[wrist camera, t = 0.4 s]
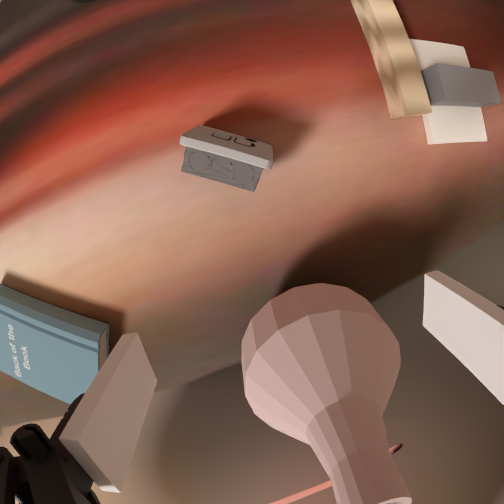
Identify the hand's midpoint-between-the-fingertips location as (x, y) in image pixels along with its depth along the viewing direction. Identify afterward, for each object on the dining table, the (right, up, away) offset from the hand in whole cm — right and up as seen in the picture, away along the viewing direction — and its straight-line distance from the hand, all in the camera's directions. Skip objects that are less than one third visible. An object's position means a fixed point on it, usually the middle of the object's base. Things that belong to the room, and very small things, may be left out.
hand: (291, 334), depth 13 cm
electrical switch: (-4, +15, +24) cm, 29 cm away
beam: (+16, +33, +20) cm, 42 cm away
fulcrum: (+28, +27, +22) cm, 45 cm away
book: (-35, -12, +30) cm, 48 cm away
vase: (+6, -7, +30) cm, 31 cm away
